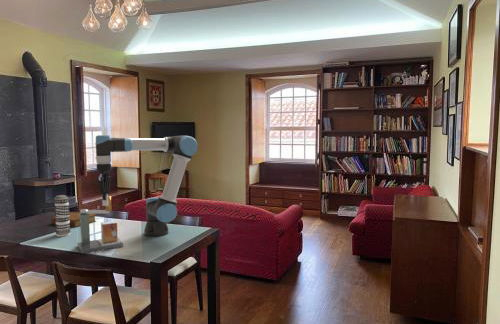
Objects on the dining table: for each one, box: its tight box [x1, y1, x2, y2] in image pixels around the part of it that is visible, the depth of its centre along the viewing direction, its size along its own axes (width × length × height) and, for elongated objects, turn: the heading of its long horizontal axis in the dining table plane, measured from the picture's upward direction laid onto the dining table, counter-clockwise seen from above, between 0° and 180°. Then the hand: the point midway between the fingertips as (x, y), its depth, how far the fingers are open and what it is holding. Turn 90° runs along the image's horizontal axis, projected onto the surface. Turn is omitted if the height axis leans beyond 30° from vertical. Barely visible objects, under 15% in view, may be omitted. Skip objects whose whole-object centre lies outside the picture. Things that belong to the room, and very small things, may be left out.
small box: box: [100, 220, 119, 242], centre depth 224 cm, size 8×6×10 cm
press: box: [76, 213, 124, 254], centre depth 222 cm, size 22×15×19 cm
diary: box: [50, 211, 97, 228], centre depth 278 cm, size 23×19×6 cm
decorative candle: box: [53, 194, 72, 237], centre depth 247 cm, size 9×9×25 cm
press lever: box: [79, 195, 112, 215], centre depth 221 cm, size 18×4×10 cm, turn 89°
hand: (105, 205), depth 217 cm, fingers closed
